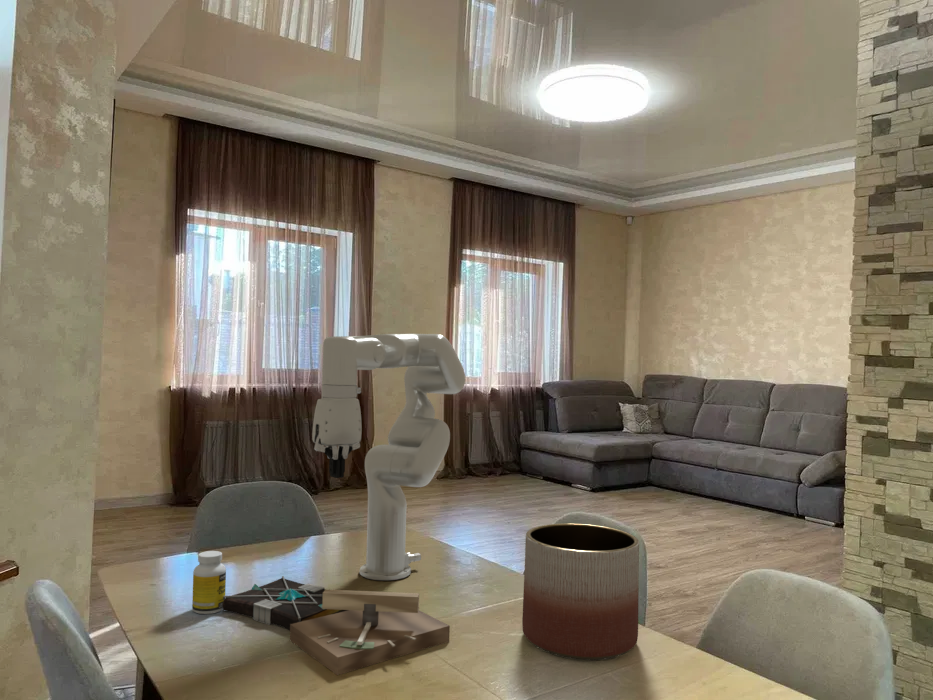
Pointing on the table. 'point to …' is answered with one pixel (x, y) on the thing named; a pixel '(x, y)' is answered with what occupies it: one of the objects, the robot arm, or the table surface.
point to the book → (279, 603)
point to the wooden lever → (370, 604)
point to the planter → (581, 590)
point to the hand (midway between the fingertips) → (336, 476)
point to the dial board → (366, 638)
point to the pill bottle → (209, 583)
